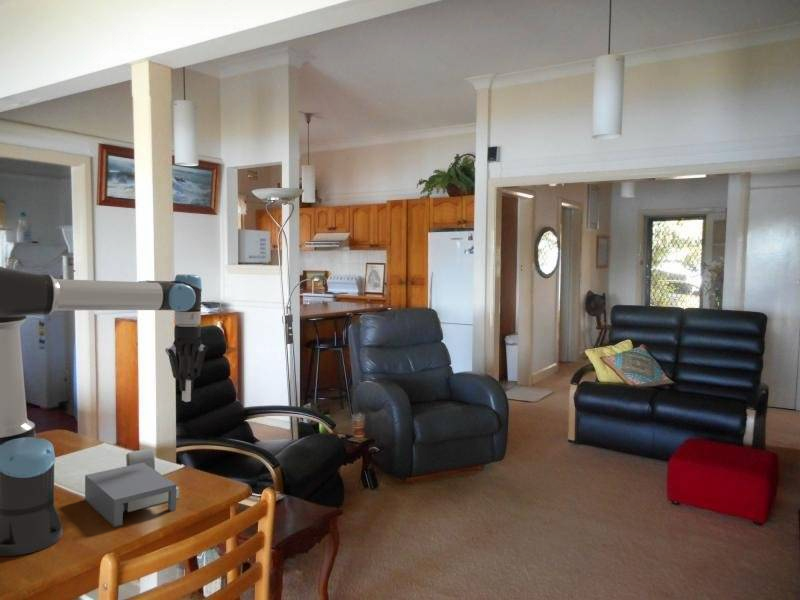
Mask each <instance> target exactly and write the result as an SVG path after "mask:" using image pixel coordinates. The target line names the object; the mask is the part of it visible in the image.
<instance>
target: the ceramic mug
mask: <svg viewBox="0 0 800 600" xmlns="http://www.w3.org/2000/svg"><path fill="white" fill-rule="evenodd" d="M125 458H126V459H125V460H126V466H130V465H134V464H139V463H145V464H146V465H148V466H149V467H151V468H152V469H154V470H155V471H156V465H155V464H156V462H155V460H156V457H155V449H154V447H152V448H151V447H150V448H144V449H140V450H134V451H130V452H128V453H127V454H126V455H125Z"/></svg>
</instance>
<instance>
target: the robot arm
mask: <svg viewBox="0 0 800 600" xmlns="http://www.w3.org/2000/svg"><path fill="white" fill-rule="evenodd" d="M202 291H203V289H202V278H201V276H200V275H197V274H186V273H185V274H176V275H175V278H174V280H147V279H146V280H140V281H121V280H119V281H116V280H112V281H111V280H95V279H94V280H92V279H88V280H87V279H67V278H65V279H64V278H63V279H61V278H54V276H52V275H51V274H45V273H43V274H42V273H33V272H26V271H22V270H18V269H14V268H10V267H3V266H1V265H0V557H15V556H16V557H17V556H22V555H27V554H31V553H35V552H38V551H41V550H44V549H46V548H49V547H51V546H53V545H54V544H55V543H57V542H58V541H59V540H61V538H62V537H63V523H62V521H61V519H60V516H59V513H58V511H57V508H56V506H55V461H56V454H55V449H54V445H53V444H52V443H51V442H50V441H49V440H47V439H45V438H42V437H41V438H38V437H37V436H36V424H35V423H34V422H33V421H31V420H29V419H28V413H27V400H26V389H25V378H24V365H23V364H24V363H23V354H22V351H23V350H22V339H21V328H20V327H21V326H22V324H23V323H25V322H26V320H27V316H39V315H42V316H43V315H44V316H46V315H47V316H48V315H51V314H52V313H54V311H174V324H175V326H174V330H173V331H174V340H173V343H172V345H171V346H170V347H167V348H165V353H166V355H168V360H169V363H170V368H171V373H172V378H174V379H176V380H179V391H181V401H183V402H185V403H188V402H191V400H192V395H191V394H192V391H193V390H194V382H195V381H196V378H199V377H200V376H201V372H202V368H203V364H204V361H205V357H206V353H207V352H208V350H209V346H207V345H204V344H202V340H201V326H200V325H201V321H202V319H201V317H202V316H201V315H202ZM176 352H177V353H178V358H179V360H178V359H177V355H176ZM196 355H197V356H196ZM178 362H179V363H178Z"/></svg>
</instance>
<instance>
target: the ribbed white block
mask: <svg viewBox="0 0 800 600" xmlns="http://www.w3.org/2000/svg"><path fill="white" fill-rule="evenodd" d="M177 498H178V499H179V498H180V487H179V486H177V485H176V500H178V499H177ZM166 502H167V503H168V492H166V493H162V494H158V495H154V496H150V497H147V498H143V499H139V500H135V501H131V502H127V503H123V504H124V511H126V512H127V513H129V512H130V513H131V512H134V511H137V510H140V509H145V508H148V507H152V506H156V505H159V504H164V503H166Z"/></svg>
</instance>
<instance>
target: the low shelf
mask: <svg viewBox="0 0 800 600" xmlns="http://www.w3.org/2000/svg"><path fill="white" fill-rule="evenodd" d="M84 479H85V481H84V483H85V484H84V500H85V501H86V502H87V503H88V504H89V505H90V506H91V507H92V508H94V510H95V511H97V513H99V514H100V515H101V516H102V517H103V518H104V519H105V521H108V523H110V525H112V527H114V528H116V527H120V526H122V525H124V521H123V520H124V519H123V517H124V516H123V515H124V514H123V513H124V512H123V503H127V502H131V501H135V500H139V499H143V498H147V497H150V496H154V495H158V494H162V493H166V492H168V501H167V504H168V505H167V506H168V507H167V509H168V510H169V511H170V512H172V511H176V510H177V499H176V486H177V484H176V483H175V482H173V481H172V480H171V479H169V478H167V477H166V476H164V475H163V474H161V473H160V472H158V471H157V470H156V469H155V470H154V469H152V468H151V467H149V466H148V465H146V464H145V463H139V464H134V465H130V466H127V465H125V466H121V467H116V468H111V469H108V470H102V471H98V472H93V473H89V474H85V475H84ZM175 509H176V510H175Z"/></svg>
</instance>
